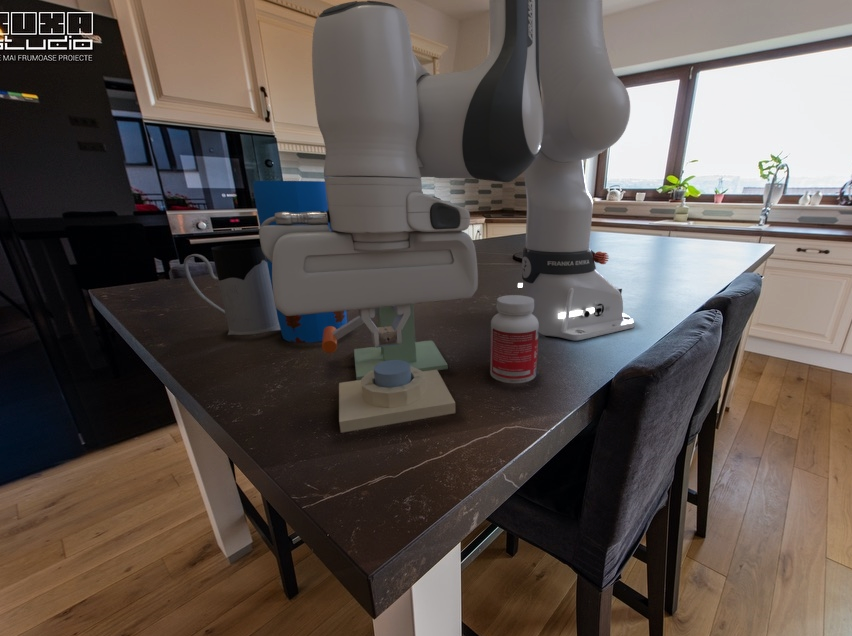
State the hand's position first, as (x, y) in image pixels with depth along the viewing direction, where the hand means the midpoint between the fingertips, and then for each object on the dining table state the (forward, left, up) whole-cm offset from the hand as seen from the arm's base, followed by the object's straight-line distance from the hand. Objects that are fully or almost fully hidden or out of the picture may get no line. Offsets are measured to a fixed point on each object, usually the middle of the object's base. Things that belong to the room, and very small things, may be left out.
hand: (387, 344), depth 43 cm
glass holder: (+23, -36, -8) cm, 43 cm away
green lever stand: (-2, -12, -8) cm, 14 cm away
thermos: (+10, -29, -8) cm, 32 cm away
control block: (0, 0, -8) cm, 8 cm away
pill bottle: (-16, -3, -8) cm, 19 cm away
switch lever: (+1, -12, -1) cm, 12 cm away
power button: (0, 0, -4) cm, 4 cm away
